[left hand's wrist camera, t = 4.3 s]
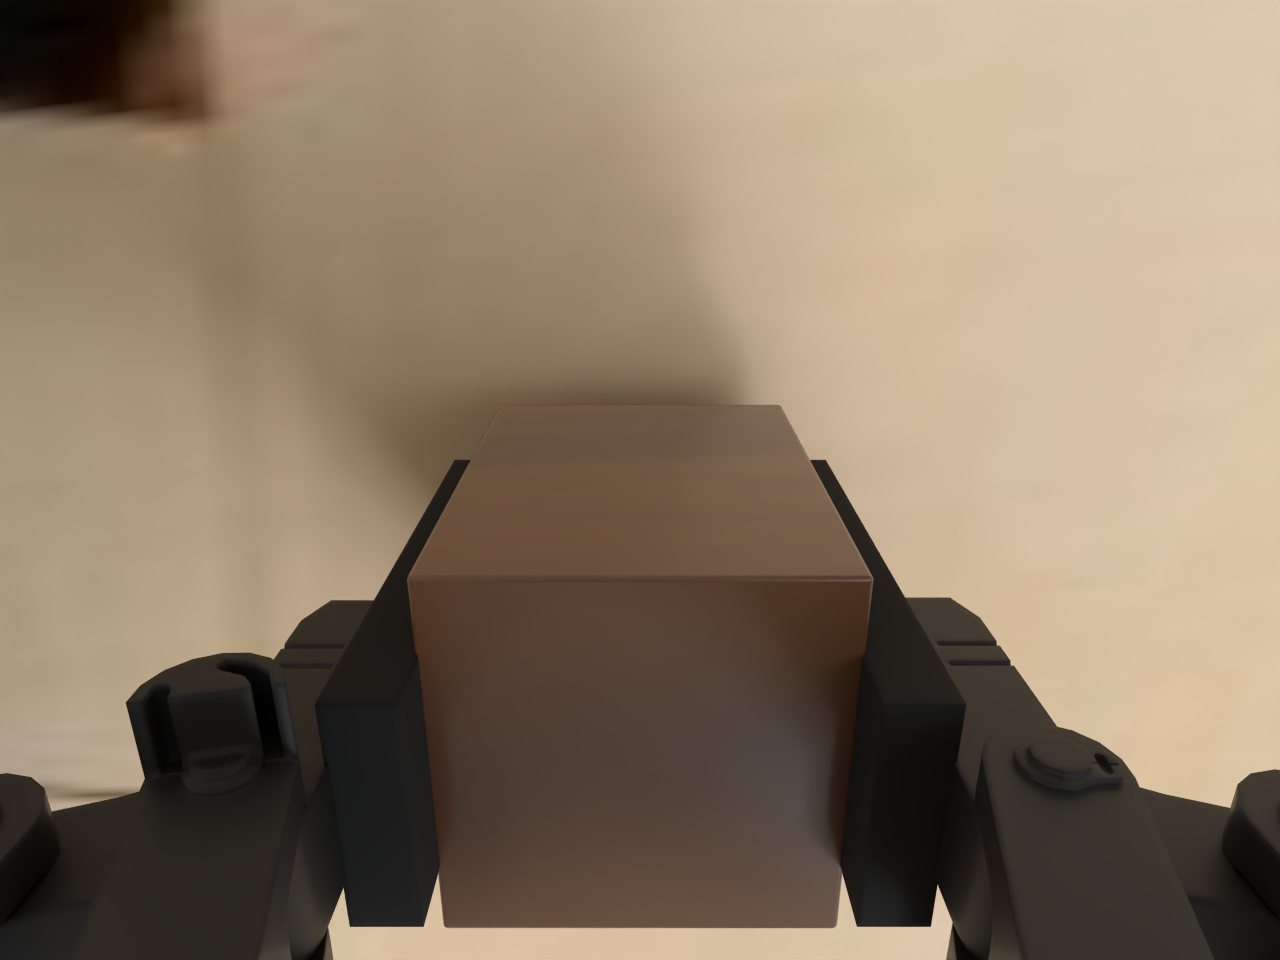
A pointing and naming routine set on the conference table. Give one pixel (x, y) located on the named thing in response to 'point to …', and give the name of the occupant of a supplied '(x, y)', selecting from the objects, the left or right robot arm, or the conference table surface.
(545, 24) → the conference table surface
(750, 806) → the block
